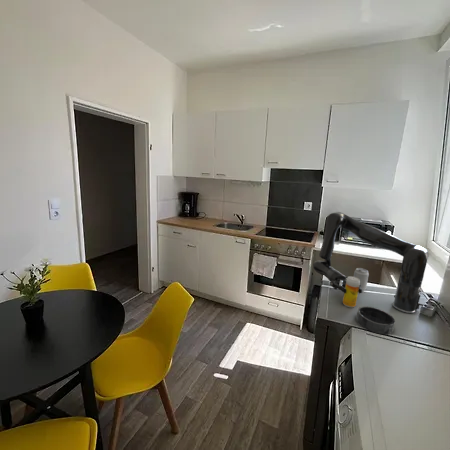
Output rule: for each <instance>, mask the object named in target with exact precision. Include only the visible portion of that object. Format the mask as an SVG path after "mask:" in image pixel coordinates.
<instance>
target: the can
mask: <svg viewBox="0 0 450 450" xmlns="http://www.w3.org/2000/svg"><path fill="white" fill-rule="evenodd" d="M369 276H370V273H369V270H367V269H365V268H362V267H357V268H356V269H355V270H354V273H353V277H357V278H359V279H360V285H361V286H360V288H361V289H362V292H364V291H366V289H367V286H368V285H367V284H368V281H369Z"/></svg>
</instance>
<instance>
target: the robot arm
mask: <svg viewBox="0 0 450 450" xmlns="http://www.w3.org/2000/svg"><path fill="white" fill-rule="evenodd" d="M341 228H342V229H344V230H346V231H348V232H350V233H352V234H354V235H355V236H356V237H357V238H358V239H359V240H361V241H362V242H364V243H367V244H368V245H370V246H373V247H376V248H377V249H378V248H379V249H382V250H387V251H390V252H393V253H396V254H397V255H400V256H401V257H403V258H402V261H401V267H400V273H399V277H398V282H397V286H396V291H395V294H394V296H393V298H394V299H393V303H392V307H393V308H394V309H396V310H397V311H399V312H402V313H406V314H414V313H416V312H417V311H418V310H419V308H420V307H423V305H424V304H422V303H420V299H421V294H420V292H421V289H422V284H423V281H424V276H425V272H426V268H427V263H428V261H429V258H430V254H429V252H428V250H427V249H426V248H424V247H422V246H421V245H416V244H413V243H410V242H408V241H406V240H405V241H404V240H402V239H400V238H398V237H396V236H394V235H392V234H390V233H387V232H385V231H384V230H381V229H379V228H377V227H375V226H372V225H369V224H366V223H364V222H361V221H359V220H357V219H354V218H352V217H351V216H349V215H347V214H345V213H344V212H342V211H335V212H331V213H329V214H328V215H327V217H326V219H325V229H324V235H323V240H322V244H321V248H320V251H319V258H320V259H323V260H315V261H314V262H313V263H312V268H313V270H314V272H316V273H318V274H320V276H324V277H325V278H326V279H327V280H328V281H329V282H330V284H329V285H330V286H331V287H332V288H333V289H334V290H338V291H340V292H342V293H343V294H344V293H346V289H345V286H346V281H347V276H346V275H344V274H343V273H341V272H340V271H339V270H337V269H335V268H334V267H333V266H332V256H333V253H334V249H335V239H336V234H337V232H338V230H339V229H341ZM360 286H361V285H359V291H358V294H362V292H363V291H362V289H361V288H360Z"/></svg>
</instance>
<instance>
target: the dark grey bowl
mask: <svg viewBox="0 0 450 450" xmlns="http://www.w3.org/2000/svg"><path fill="white" fill-rule="evenodd" d="M355 321H356V323H357V324H358V325H360V327H362V328H363V329H365V330H367V331H370V332H371V333H375V334H379V335H390V334H392V333H393V332H394V328H395V324H396V319H395V318H394V317H393V316H392V315H391V314H389V313H388V312H386V311H384V310H382V309H380V308H377V307H373V306H359V307H358V308H357V311H356V317H355Z"/></svg>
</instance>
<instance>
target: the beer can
mask: <svg viewBox="0 0 450 450" xmlns="http://www.w3.org/2000/svg"><path fill="white" fill-rule="evenodd" d="M346 279H347V281H346V286H345V289H346V293H343V298H342V303H343V305H344V306H345V307H347V308H350V309H352V308H354V307H356V305H357V301H358V295H359V292H358V291H359V285H360V279H359V278H357V277H354V275H353V276H352V275H350V276H347V277H346Z"/></svg>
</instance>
